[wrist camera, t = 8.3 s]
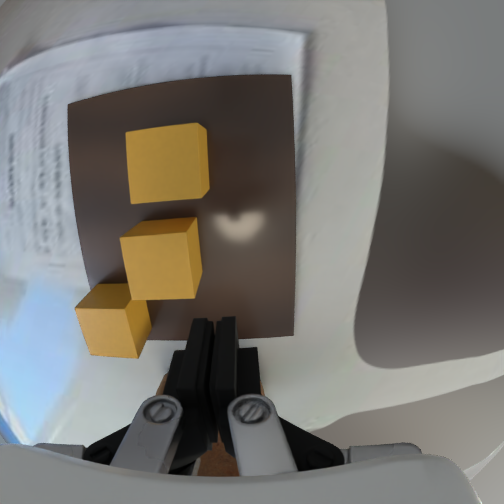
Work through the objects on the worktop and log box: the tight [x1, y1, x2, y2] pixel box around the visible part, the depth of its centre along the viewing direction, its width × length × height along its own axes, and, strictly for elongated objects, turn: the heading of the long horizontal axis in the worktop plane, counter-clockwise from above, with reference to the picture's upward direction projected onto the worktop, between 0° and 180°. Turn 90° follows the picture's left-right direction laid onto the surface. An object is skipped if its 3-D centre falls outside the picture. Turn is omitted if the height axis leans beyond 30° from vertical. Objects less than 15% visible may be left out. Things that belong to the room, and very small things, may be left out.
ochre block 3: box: [120, 217, 203, 300], centre depth 23 cm, size 5×5×5 cm
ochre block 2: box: [126, 123, 210, 204], centre depth 20 cm, size 5×5×5 cm
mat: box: [68, 75, 296, 340], centre depth 24 cm, size 24×20×1 cm
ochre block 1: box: [75, 283, 152, 359], centre depth 24 cm, size 5×5×5 cm
